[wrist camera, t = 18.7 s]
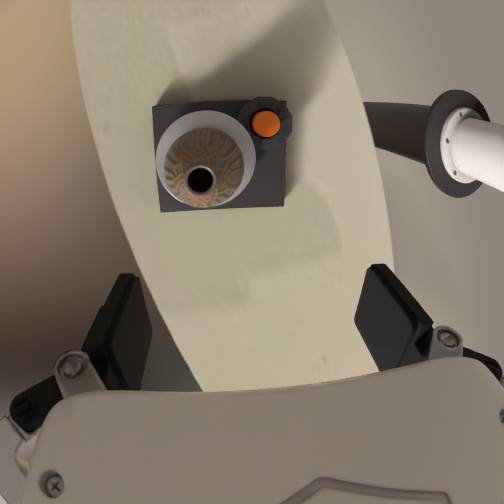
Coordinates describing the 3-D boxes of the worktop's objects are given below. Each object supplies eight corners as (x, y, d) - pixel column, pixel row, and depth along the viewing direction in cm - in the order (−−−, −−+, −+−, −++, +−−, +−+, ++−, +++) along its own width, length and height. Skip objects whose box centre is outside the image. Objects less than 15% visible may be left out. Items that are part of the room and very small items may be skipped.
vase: (236, 121, 25) (244, 124, 18) (244, 188, 29) (255, 219, 21) (166, 132, 25) (143, 141, 17) (177, 198, 28) (162, 233, 21)
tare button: (277, 111, 26) (280, 111, 25) (277, 135, 27) (280, 137, 26) (251, 110, 26) (253, 110, 25) (251, 135, 27) (253, 136, 26)
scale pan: (255, 108, 26) (255, 108, 25) (255, 203, 30) (255, 205, 30) (153, 115, 25) (152, 115, 24) (161, 208, 29) (160, 210, 29)
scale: (285, 99, 28) (292, 98, 25) (283, 202, 34) (289, 211, 31) (154, 104, 27) (148, 103, 24) (162, 208, 32) (158, 217, 30)
